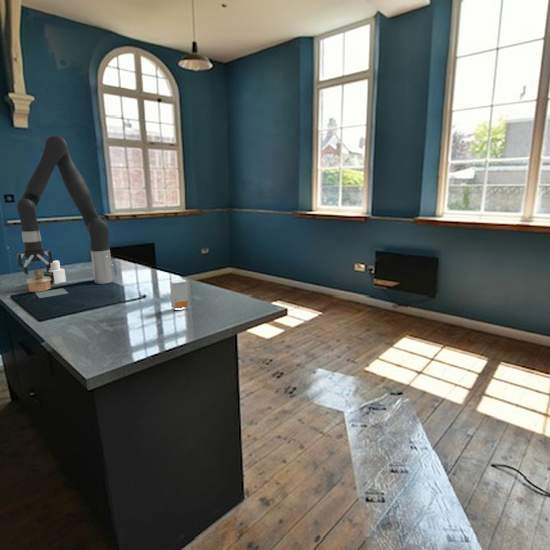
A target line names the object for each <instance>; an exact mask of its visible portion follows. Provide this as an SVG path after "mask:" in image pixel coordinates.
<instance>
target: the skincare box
mask: <svg viewBox="0 0 550 550" xmlns="http://www.w3.org/2000/svg"><path fill="white" fill-rule="evenodd" d="M169 284H170V298H171V308H172V307H173V308H174V309H175V308H182V307H187V306H188V307H189V295H188V281H187V280H186V279H183V278H182V279H176V280H170V281H169Z"/></svg>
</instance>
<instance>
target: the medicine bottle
mask: <svg viewBox="0 0 550 550" xmlns="http://www.w3.org/2000/svg"><path fill="white" fill-rule="evenodd" d="M52 260H53V259H52ZM60 264H61V263H60V260H57V259H54V260H53V262H52V263H50V264H49V268H50V271H49V272H46V269H45V270H43V276H48V277H51V281H50V285H56V284H60V283H66V282H67V277H66V271H65V268H61V265H60Z"/></svg>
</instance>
